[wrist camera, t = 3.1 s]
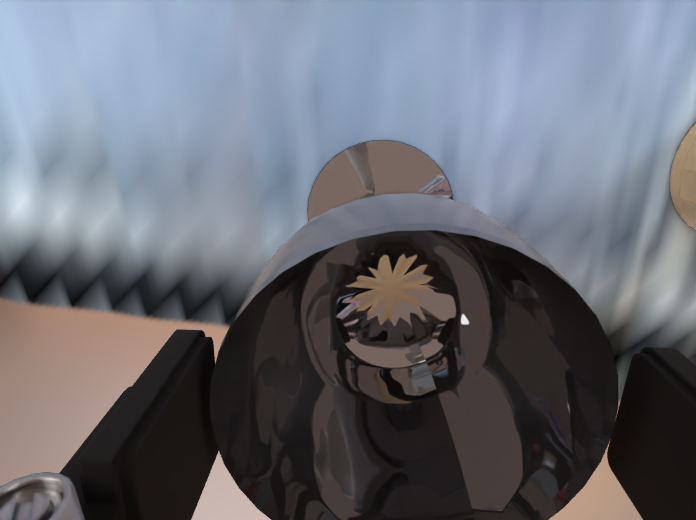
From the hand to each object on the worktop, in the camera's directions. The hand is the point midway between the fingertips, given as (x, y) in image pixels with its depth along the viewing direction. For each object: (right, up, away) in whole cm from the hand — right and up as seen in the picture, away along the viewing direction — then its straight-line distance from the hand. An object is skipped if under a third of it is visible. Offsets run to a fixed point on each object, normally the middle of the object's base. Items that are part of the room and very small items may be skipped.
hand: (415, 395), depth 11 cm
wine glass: (0, +5, +13) cm, 14 cm away
